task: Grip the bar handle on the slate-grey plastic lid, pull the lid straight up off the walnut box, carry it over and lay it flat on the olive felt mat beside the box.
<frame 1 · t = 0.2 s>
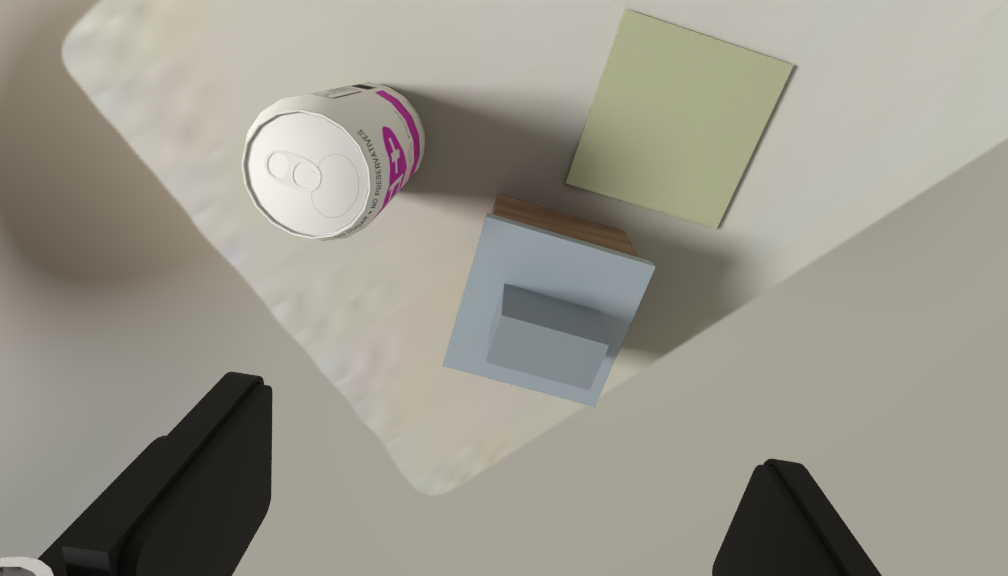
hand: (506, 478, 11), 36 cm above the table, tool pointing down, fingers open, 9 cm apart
walnut box: (540, 272, 47), on the table
lid: (543, 306, 41), point 7 cm above the table, touching walnut box
supplement can: (376, 137, 44), on the table
felt mat: (673, 126, 42), on the table
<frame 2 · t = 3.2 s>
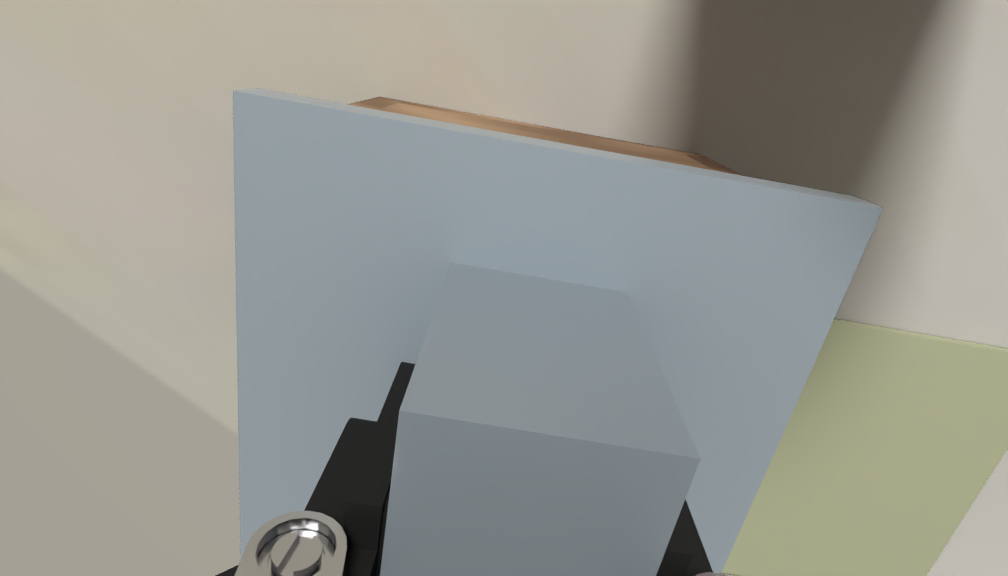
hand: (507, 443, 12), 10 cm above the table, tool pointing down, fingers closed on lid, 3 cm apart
walnut box: (513, 276, 21), on the table
lid: (510, 374, 14), point 7 cm above the table, touching gripper, walnut box
felt mat: (825, 463, 23), on the table
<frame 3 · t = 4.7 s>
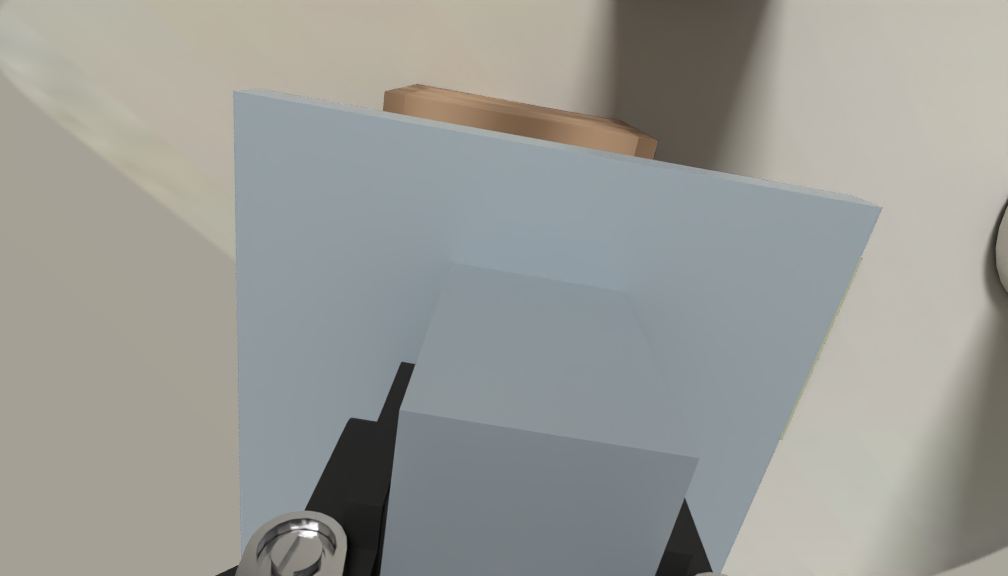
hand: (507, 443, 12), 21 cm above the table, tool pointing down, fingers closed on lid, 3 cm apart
walnut box: (502, 203, 31), on the table
lid: (510, 374, 14), point 19 cm above the table, touching gripper
felt mat: (716, 336, 34), on the table
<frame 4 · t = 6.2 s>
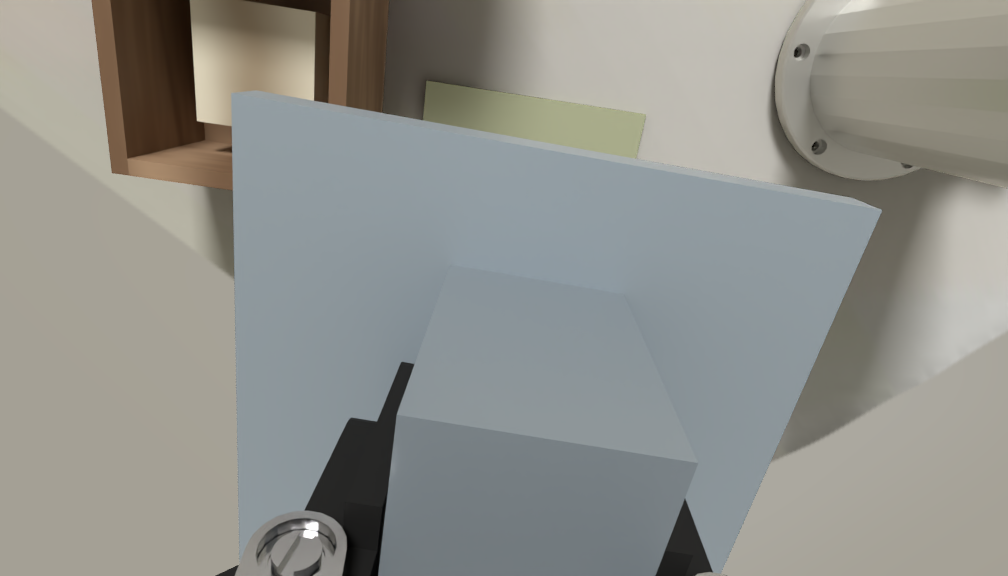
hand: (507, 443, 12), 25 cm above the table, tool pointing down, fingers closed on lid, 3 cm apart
walnut box: (289, 68, 32), on the table
lid: (509, 376, 14), point 22 cm above the table, touching gripper
felt mat: (519, 204, 35), on the table
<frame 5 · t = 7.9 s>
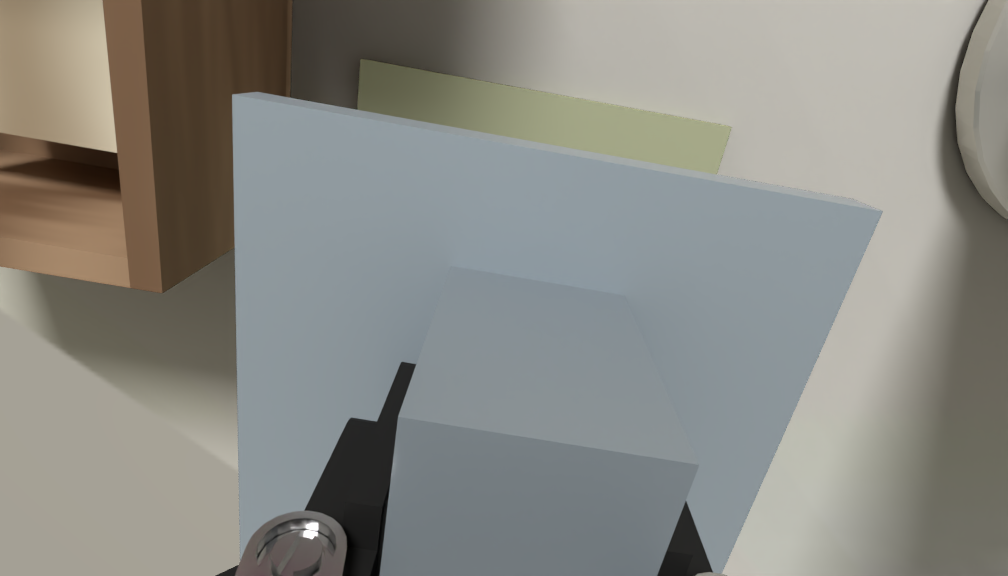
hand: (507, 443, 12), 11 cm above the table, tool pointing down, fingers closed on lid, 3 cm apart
walnut box: (131, 32, 19), on the table
lid: (509, 377, 14), point 8 cm above the table, touching gripper
felt mat: (515, 264, 22), on the table
when the fingers open (5 cm above the table, at t = 9.5 s): lid drops 2 cm, resting on felt mat.
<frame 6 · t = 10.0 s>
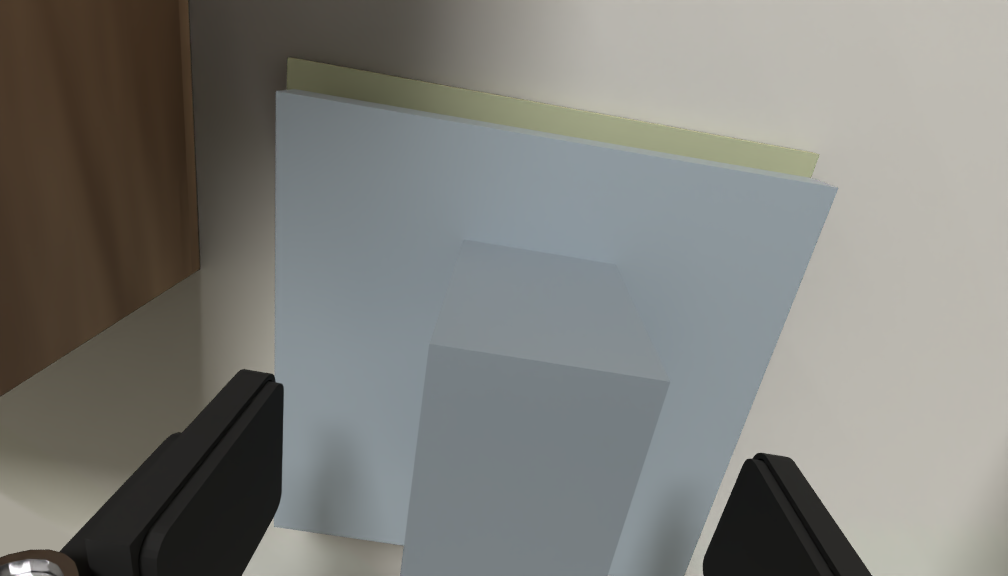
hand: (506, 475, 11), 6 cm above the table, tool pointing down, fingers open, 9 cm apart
lid: (514, 344, 16), resting on felt mat
felt mat: (511, 337, 16), on the table
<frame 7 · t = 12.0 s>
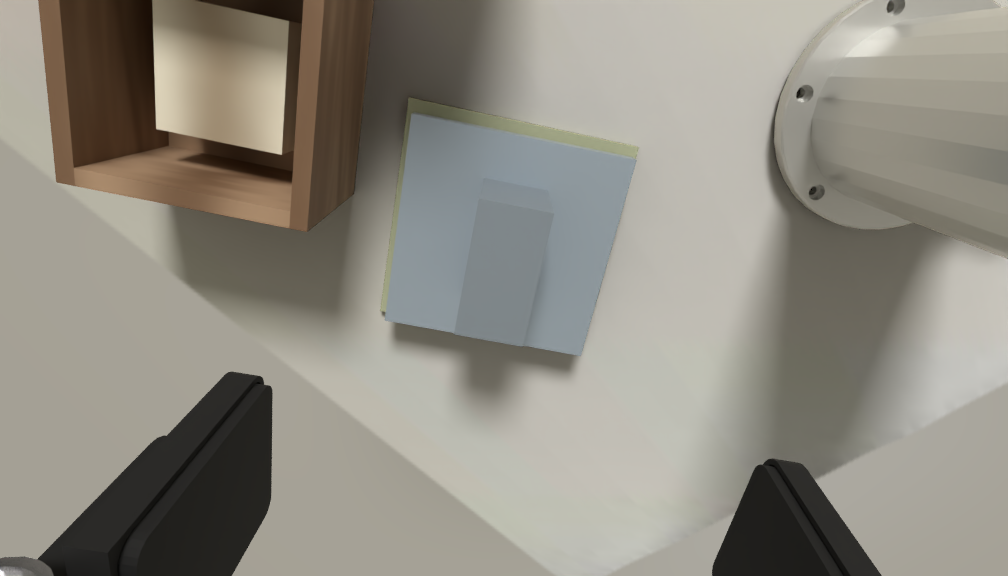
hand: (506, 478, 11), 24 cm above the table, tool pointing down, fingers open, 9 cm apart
walnut box: (263, 75, 30), on the table
lid: (503, 234, 33), resting on felt mat
felt mat: (501, 232, 33), on the table
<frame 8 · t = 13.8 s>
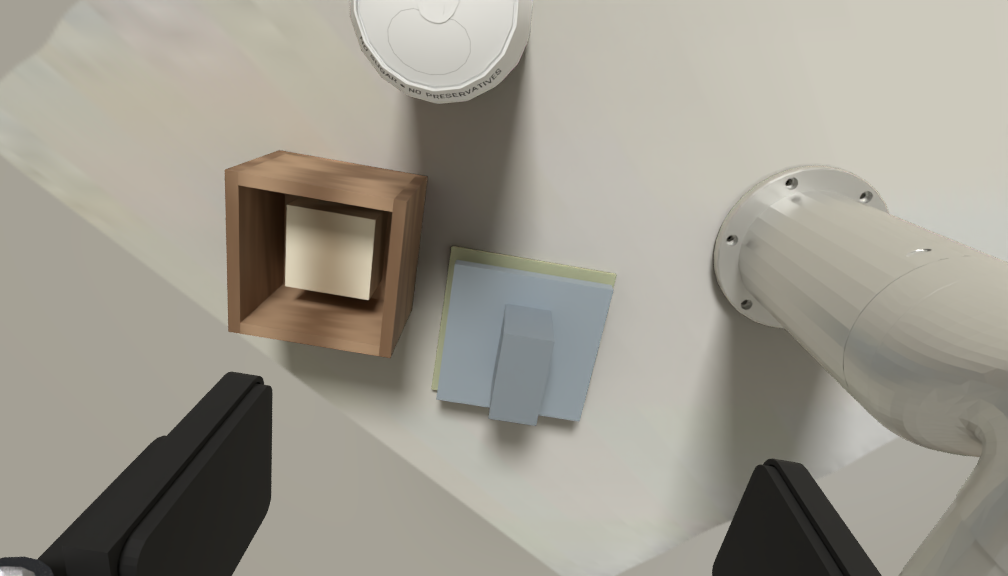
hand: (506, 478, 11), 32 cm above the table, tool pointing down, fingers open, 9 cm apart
walnut box: (349, 234, 43), on the table
lid: (520, 335, 45), resting on felt mat
supplement can: (468, 25, 37), on the table
felt mat: (519, 332, 45), on the table
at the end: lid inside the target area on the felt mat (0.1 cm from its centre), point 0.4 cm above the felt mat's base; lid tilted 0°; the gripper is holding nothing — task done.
